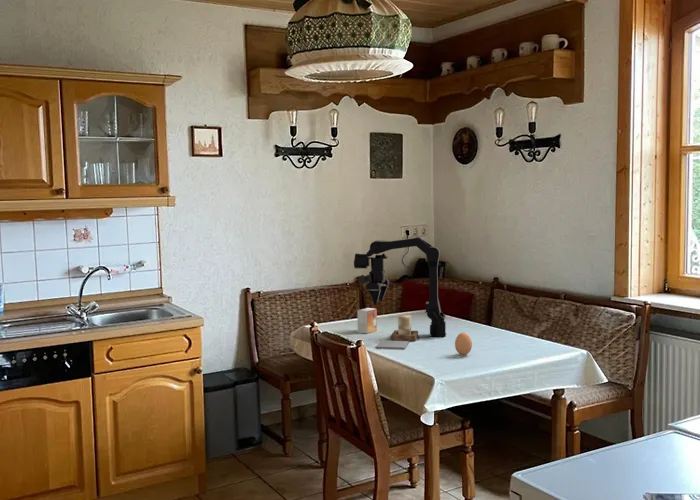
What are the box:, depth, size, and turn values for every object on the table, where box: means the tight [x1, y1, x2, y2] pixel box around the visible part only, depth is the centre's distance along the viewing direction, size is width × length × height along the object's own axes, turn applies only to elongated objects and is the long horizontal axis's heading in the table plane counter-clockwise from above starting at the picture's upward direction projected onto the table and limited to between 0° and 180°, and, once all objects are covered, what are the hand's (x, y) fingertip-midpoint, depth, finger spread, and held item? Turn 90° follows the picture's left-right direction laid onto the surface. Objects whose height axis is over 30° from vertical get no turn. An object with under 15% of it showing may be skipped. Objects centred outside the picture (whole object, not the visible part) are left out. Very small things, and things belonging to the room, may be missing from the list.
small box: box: [356, 307, 378, 334], centre depth 330 cm, size 8×6×10 cm
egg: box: [454, 331, 473, 356], centre depth 282 cm, size 7×7×9 cm
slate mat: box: [375, 339, 410, 350], centre depth 300 cm, size 12×12×1 cm
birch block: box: [397, 314, 412, 335], centre depth 314 cm, size 5×5×10 cm
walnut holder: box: [390, 329, 419, 342], centre depth 314 cm, size 10×10×2 cm
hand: (378, 302), depth 323 cm, fingers open, 9 cm apart
